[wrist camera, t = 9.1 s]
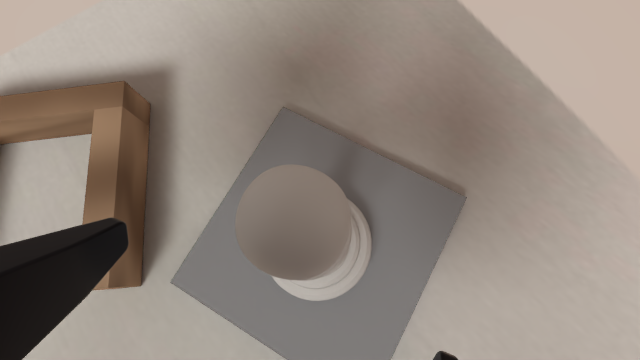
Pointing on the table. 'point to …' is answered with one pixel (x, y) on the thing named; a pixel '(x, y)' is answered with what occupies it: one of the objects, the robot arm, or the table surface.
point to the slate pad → (374, 286)
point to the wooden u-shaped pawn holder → (96, 154)
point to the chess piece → (303, 232)
